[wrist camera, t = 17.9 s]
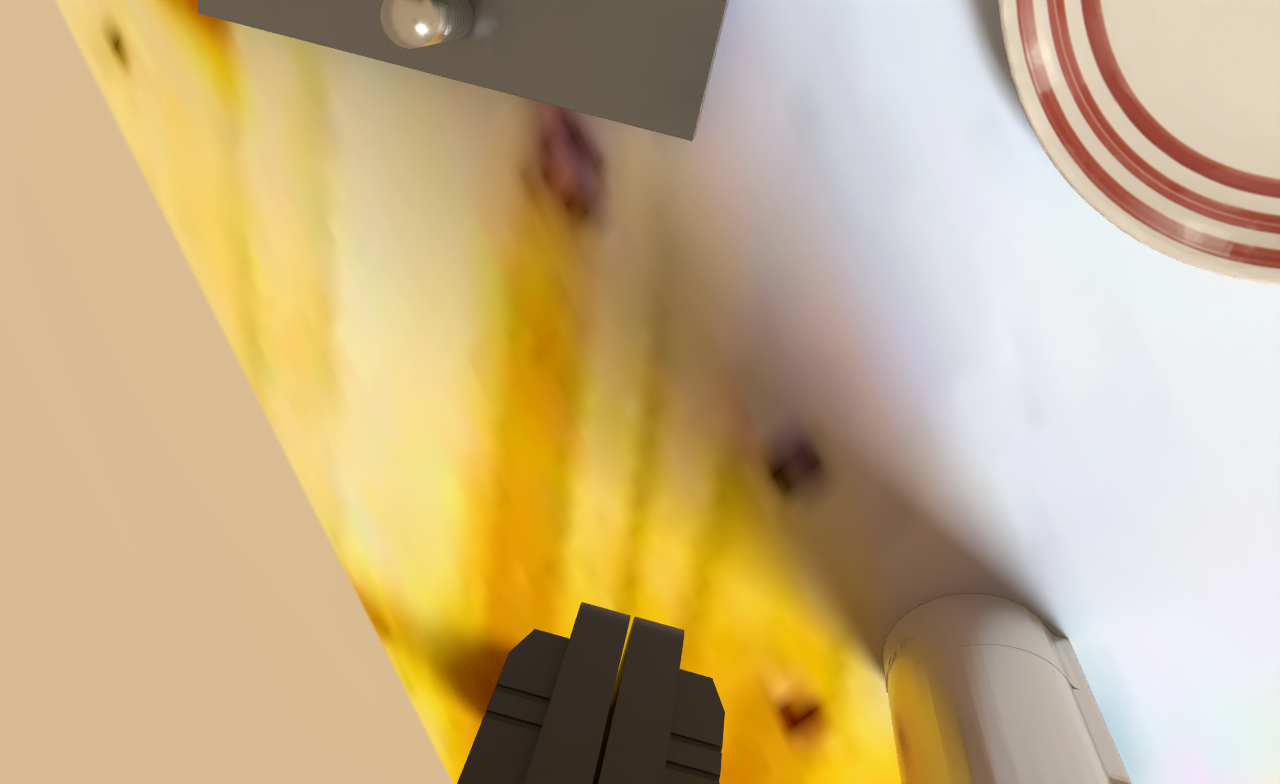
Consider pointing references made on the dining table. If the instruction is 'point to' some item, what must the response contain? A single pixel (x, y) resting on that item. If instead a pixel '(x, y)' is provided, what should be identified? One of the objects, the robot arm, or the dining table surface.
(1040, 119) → the dinner plate
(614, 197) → the dining table surface
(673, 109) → the housing base
